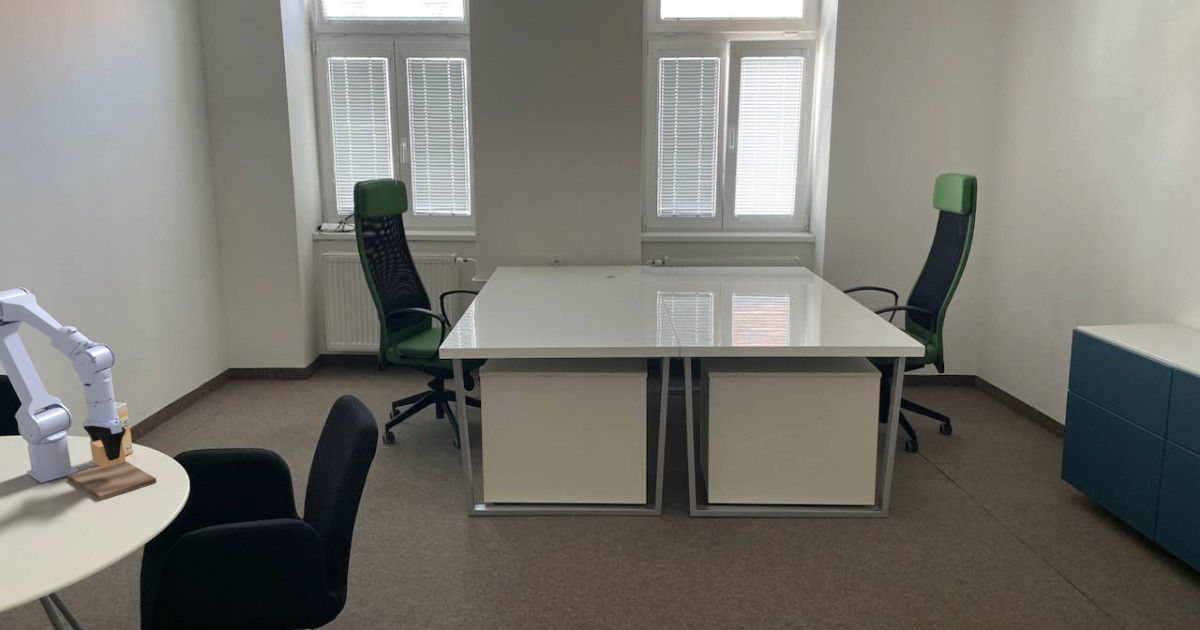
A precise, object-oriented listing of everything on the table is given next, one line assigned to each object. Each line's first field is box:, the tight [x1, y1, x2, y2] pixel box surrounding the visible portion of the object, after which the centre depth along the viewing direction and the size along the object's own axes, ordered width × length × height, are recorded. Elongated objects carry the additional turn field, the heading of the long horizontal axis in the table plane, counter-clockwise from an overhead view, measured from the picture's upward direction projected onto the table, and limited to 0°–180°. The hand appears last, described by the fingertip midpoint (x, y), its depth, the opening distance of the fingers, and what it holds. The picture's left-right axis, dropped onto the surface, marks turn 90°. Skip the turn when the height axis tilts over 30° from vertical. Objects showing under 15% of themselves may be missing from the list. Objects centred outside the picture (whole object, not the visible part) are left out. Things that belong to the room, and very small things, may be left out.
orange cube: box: [89, 440, 126, 468], centre depth 204 cm, size 5×5×5 cm
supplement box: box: [89, 402, 134, 457], centre depth 217 cm, size 8×5×13 cm, turn 168°
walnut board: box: [67, 460, 157, 501], centre depth 206 cm, size 18×12×1 cm, turn 50°
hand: (108, 456), depth 204 cm, fingers closed on orange cube, 5 cm apart
